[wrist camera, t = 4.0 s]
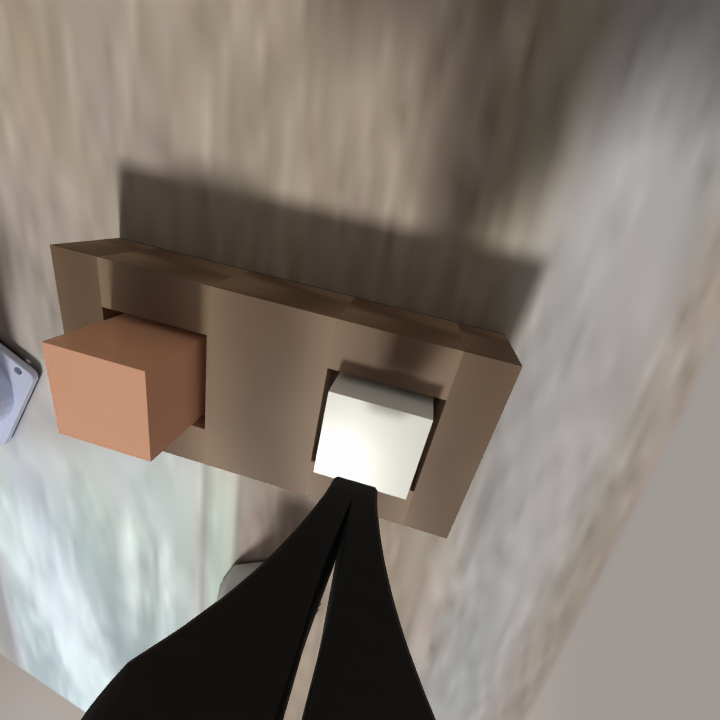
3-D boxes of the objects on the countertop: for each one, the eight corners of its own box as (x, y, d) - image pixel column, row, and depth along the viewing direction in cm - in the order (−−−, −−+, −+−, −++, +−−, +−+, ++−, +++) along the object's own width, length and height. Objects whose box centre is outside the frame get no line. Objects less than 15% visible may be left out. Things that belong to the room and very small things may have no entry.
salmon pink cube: (142, 383, 18) (59, 433, 14) (137, 308, 17) (41, 341, 13) (215, 403, 18) (150, 461, 14) (217, 330, 16) (144, 371, 12)
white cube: (339, 415, 19) (313, 471, 15) (353, 348, 17) (328, 391, 13) (411, 436, 19) (405, 499, 15) (433, 369, 17) (433, 420, 13)
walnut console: (132, 393, 21) (79, 425, 18) (119, 238, 18) (49, 244, 14) (444, 485, 20) (446, 538, 16) (504, 334, 16) (522, 366, 13)
